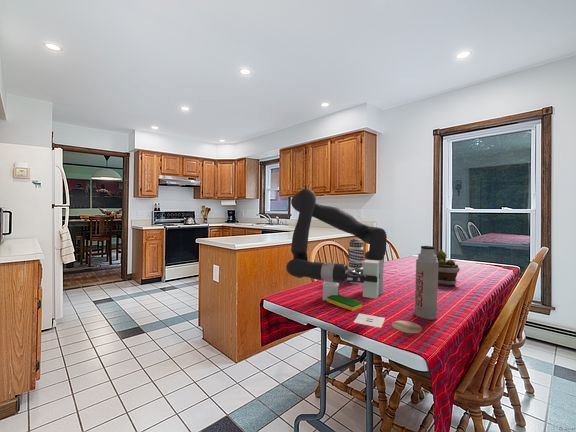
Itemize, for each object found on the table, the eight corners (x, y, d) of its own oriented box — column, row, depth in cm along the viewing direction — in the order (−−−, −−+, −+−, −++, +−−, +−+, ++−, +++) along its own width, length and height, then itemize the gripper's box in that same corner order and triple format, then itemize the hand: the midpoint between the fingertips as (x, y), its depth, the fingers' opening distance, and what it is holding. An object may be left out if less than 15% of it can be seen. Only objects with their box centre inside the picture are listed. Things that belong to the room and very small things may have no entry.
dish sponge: (336, 298, 132) (336, 293, 132) (362, 307, 122) (362, 302, 122) (326, 302, 127) (326, 296, 127) (352, 311, 117) (353, 305, 117)
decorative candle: (347, 283, 160) (348, 239, 160) (346, 279, 170) (347, 237, 169) (364, 284, 159) (365, 239, 158) (362, 280, 168) (363, 238, 167)
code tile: (359, 314, 115) (359, 313, 115) (385, 318, 110) (385, 317, 110) (353, 323, 106) (353, 322, 106) (381, 328, 101) (381, 327, 101)
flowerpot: (465, 287, 154) (466, 251, 154) (437, 287, 155) (438, 251, 154) (450, 280, 169) (451, 247, 168) (424, 280, 169) (425, 247, 168)
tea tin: (365, 292, 111) (365, 259, 111) (379, 294, 109) (379, 260, 108) (362, 296, 106) (362, 262, 106) (376, 298, 104) (377, 263, 104)
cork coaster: (393, 320, 109) (393, 318, 109) (422, 325, 104) (422, 323, 104) (390, 330, 100) (390, 328, 100) (421, 336, 95) (421, 334, 95)
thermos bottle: (421, 319, 110) (423, 247, 109) (410, 312, 117) (412, 244, 116) (441, 319, 110) (443, 247, 109) (429, 311, 118) (431, 244, 117)
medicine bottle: (338, 301, 129) (338, 275, 129) (322, 300, 131) (323, 274, 130) (338, 296, 136) (339, 272, 136) (323, 295, 138) (324, 271, 137)
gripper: (328, 267, 107) (375, 271, 100) (339, 260, 120) (381, 264, 112) (328, 286, 107) (375, 293, 100) (339, 277, 120) (381, 282, 113)
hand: (378, 277), depth 106 cm, fingers closed on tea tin, 5 cm apart
